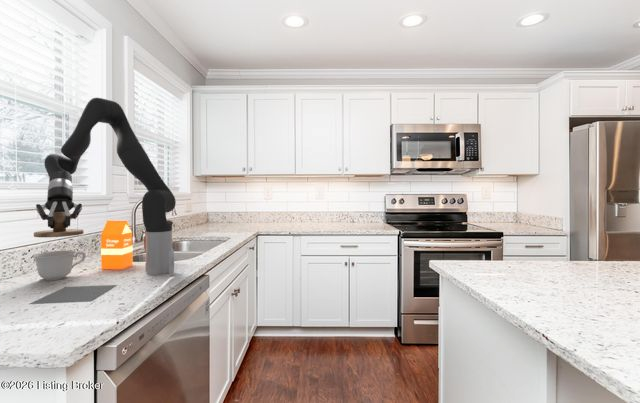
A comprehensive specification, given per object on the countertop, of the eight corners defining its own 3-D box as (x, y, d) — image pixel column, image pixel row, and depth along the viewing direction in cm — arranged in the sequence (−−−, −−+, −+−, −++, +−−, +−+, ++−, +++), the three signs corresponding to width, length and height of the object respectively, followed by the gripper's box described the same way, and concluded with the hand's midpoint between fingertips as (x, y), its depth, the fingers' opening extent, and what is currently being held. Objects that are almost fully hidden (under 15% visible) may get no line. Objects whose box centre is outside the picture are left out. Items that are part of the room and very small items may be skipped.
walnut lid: (91, 231, 123) (90, 210, 123) (69, 237, 109) (68, 213, 109) (50, 232, 121) (50, 211, 121) (23, 237, 107) (22, 213, 107)
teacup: (88, 279, 117) (88, 252, 116) (34, 287, 106) (33, 258, 106) (82, 273, 125) (82, 248, 125) (32, 280, 115) (31, 253, 114)
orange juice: (122, 269, 133) (121, 221, 132) (101, 269, 132) (100, 221, 132) (133, 264, 140) (132, 219, 140) (112, 264, 140) (112, 219, 140)
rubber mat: (117, 287, 107) (117, 284, 107) (91, 304, 91) (91, 301, 91) (65, 289, 104) (65, 286, 104) (28, 307, 88) (28, 303, 88)
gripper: (35, 185, 116) (31, 220, 107) (83, 185, 125) (83, 219, 116) (36, 199, 121) (33, 234, 111) (83, 198, 129) (83, 231, 120)
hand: (59, 226), depth 113 cm, fingers closed on walnut lid, 3 cm apart
